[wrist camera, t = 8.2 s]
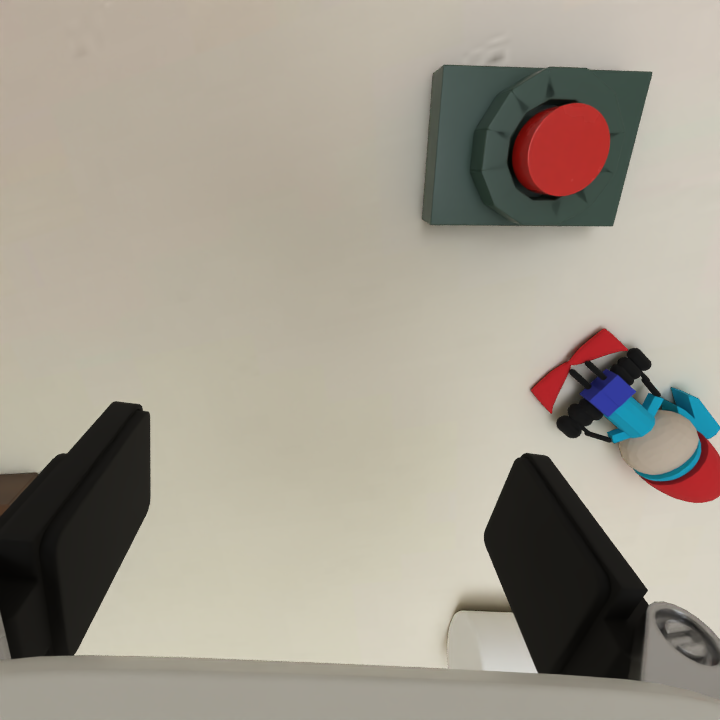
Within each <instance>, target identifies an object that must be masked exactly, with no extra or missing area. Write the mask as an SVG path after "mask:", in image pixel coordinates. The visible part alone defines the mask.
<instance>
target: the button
mask: <svg viewBox="0 0 720 720" xmlns="http://www.w3.org/2000/svg"><path fill="white" fill-rule="evenodd" d="M609 148H610V132H609V128H608V125H607V122H606V120H605V118H604V117H603V115H602V114H601V113H600V112H599V111H598V110H597V109H595V108H594V107H592V106H590V105H587V104H584V103H571V104H566V105H561V106H557V107H553V108H548V109H545V110H543V111H541V112H539V113H537V114H536V115H534V116H533V117H532V118H530V119H529V120H528V121H527V122H526V123H525V125H524V126H523V127H522V129H521V130H520V132H519V134H518V136H517V138H516V140H515V143H514V147H513V152H512V165H513V170H514V173H515V175H516V178H517V179H518V181H519V182H520V183H521V184H522V185H523V186H524V187H525V188H526V189H528V190H530V191H532V192H535V193H540V194H546V195H552V196H567V195H571V194H574V193H576V192H579V191H581V190H582V189H584V188H585V187H586V186H588V185H589V184H590V183H591V182H592V181H593V180H594V179H595V178H596V177H597V176H598V174H599V173H600V171H601V170H602V168H603V166H604V164H605V162H606V159H607V156H608V153H609Z"/></svg>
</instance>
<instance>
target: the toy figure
mask: <svg viewBox="0 0 720 720" xmlns="http://www.w3.org/2000/svg"><path fill="white" fill-rule="evenodd" d="M619 351H628V349H627V348H626V347H625V346H624V345H623V344H622V343H621V342H620V341H619V340H618V339H617V338H616V337H615V336H614V335H612V334H611V333H610V332H609V331H607V330H606V329H602V330H601V331H599V332H598V333H597V334H595V335H594V336H593V337H592V338H590V339H589V340H588V341H587V342H586V343H585V344H583V345H582V346H581V347H580V348H579V349H578V350H577V351H576V352H575V354H574V355H573V356H572V357H571V359H570V360H569V361H567V362H565V363H563V364H561V365H560V366H558V367H556V368H555V369H553V370H552V371H551V372H549V373H548V374H547V375H546V376H545V377H544V378H543V379H541V380H540V381H539V382H538V383H537V384H536V385H535V386H534V387H533V388H532V389H531V392H532V393H533V394H534V395H535V397H536V398H537V399H538V400H539V401H540V402H541V404H542V405H543V406H544V407H545V408H546V409H547V410H548V411H549V412H550V413H551V414H552V409H553V405H554V403H555V400H556V398H557V396H558V394H559V392H560V389H561V387H562V385H563V383H564V381H565V379H566V377H567V375H568V373H570V375H571V376H572V377H574V378H575V379H576V380H577V381H578V382H579V383H580V384H582V385H583V386H584V387H585V389H584V390H583V391H582V392H581V393H580V395H581V396H582V397H583V399H581V400H580V401H579V403H578V404H572V405H571V406H570V407H569V408H568V415H569V416H566V415H564V416H561V417H559V418H558V419H557V422H556V424H557V427H558V429H559V430H560V431H562V432H563V433H564V434H565V435H566V436H567V437H569V438H577V437H578V436H580V434H581V432H582V430H583V431H584V433H585V435H586V436H590V437H593V438H596V439H600V440H603V441H606V442H611V441H612V442H613V443H617V442H619V449H620V452H621V455H622V457H623V459H624V460H625V462H626V463H627V464H628V465H629V466H630V467H632V468H633V469H634V471H635V472H636V473H637V474H639V476H640V477H641V478H642V479H643V480H645V481H646V482H647V483H648V484H650V485H651V486H653V487H654V488H656V489H657V490H659V491H661V492H663V493H665V494H667V495H669V496H671V497H673V498H676V499H679V500H683V501H687V502H693V503H703V502H708V501H712V500H714V499H716V498H717V497H719V496H720V456H719V454H718V452H717V451H716V449H715V448H714V447H713V446H712V444H711V443H710V442H709V441H708V440H707V439H710V438H711V437H713V436H714V435H716V434H717V432H718V431H719V430H720V426H719V425H718V423H717V422H716V421H715V420H714V418H713V417H712V416H711V414H710V413H709V412H708V410H707V409H706V408H705V406H704V405H703V404H702V402H701V401H700V400H699V399H698V398H696V397H694V396H692V395H690V394H688V393H686V392H684V391H681V390H679V389H675V388H672V387H671V390H672V393H673V396H674V400H675V403H676V405H675V404H673V403H671V402H669V401H667V400H665V399H663V398H661V397H660V396H661V394H660V393H659V391H658V390H657V389H656V388H655V387H654V385H653V384H652V383H651V382H650V379H649V378H648V377H647V376H646V375H645V374H644V373H643V372H642V371H646V370H648V369H650V367H651V361H650V360H649V359H648V358H647V357H646V356H645V355H644V354H643V353H642V352H641V350H640V349H638V348H632V349H630V350H629V351H628V352H627V357H628V358H627V357H622V358H620V359H619V360H618V362H617V364H615V365H613V366H612V367H611V368H610V371H609V370H607V369H605V370H604V371H603V372H601V371H600V370H599V369H598V368H597V367H596V366H595V365H594V364H593V363H592V362H590V361H591V360H593V359H596V358H599V357H602V356H605V355H608V354H612V353H615V352H619ZM582 363H585V365H586V366H587V367H588V368H589V369H590V370H591V371H592V372H593V373H595V374H596V375H597V376H598V377H597V378H596V379H594V380H593V381H592V382H591V383H589V382H587V381H586V380H585V379H584V378H583V377H582V376H581V375H580V374H578V373H577V372H576V371H575V370H573V369H571V370H570V368H571V365H578V364H582ZM641 370H642V371H641ZM640 376H641V377H642V379H641V380H642V382H643V383H644V385H645V386H646V387H647V388H648V389H649V391H650V392H651V393H652V394H651V393H648V395H647V397H646V399H645V401H644V402H643V404H642V405H641V404H640V403H638V402H637V401H636V400H635V399H634V398H633V397H632V395H633V394H634V393H635V392H636V391H635V390H634V389H633V388H632V387H630V385H632V384H633V383H634V379H637V378H639V377H640ZM661 404H662V410H658V409H659V407H660V406H661ZM603 415H604V416H605V417H606V418H607V419H608V420H609V421H611V422H612V423H613V424H614V425H615V426H616V427H617V429H615V430H612V431H609V432H607V434H608V437H606V436H602V435H599V434H596V433H593V432H590V431H589V430H587V429H586V428H585V427H584V426H588V425H590V424H591V423H592V421H593V420H599V419H601V418H602V417H603Z"/></svg>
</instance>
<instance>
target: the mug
mask: <svg viewBox="0 0 720 720" xmlns="http://www.w3.org/2000/svg"><path fill="white" fill-rule="evenodd" d="M447 665H448V669H463V670H483V671H502V672H521V673H538V672H537V670H536V668H535V666H534V663H533V661H532V658H531V656H530V653H529V651H528V648H527V646H526V644H525V641H524V639H523V636H522V634H521V631H520V629H519V626H518V624H517V622H516V619H515V617H514V614H513V613H512V612H486V611H459V612H457V613H456V614H455V615H454V616H453V618H452V620H451V623H450V627H449V632H448V640H447Z"/></svg>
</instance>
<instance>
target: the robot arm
mask: <svg viewBox="0 0 720 720" xmlns="http://www.w3.org/2000/svg"><path fill="white" fill-rule="evenodd" d="M149 505H150V414H149V412H147V411H143V408H142V406H141V405H140V404H132V403H124V402H117V401H116V402H113V403H112V404H111V405H110V406H109V407H108V408H107V409H106V410H105V411H104V412H103V414H102V415H101V416H100V417H99V418H98V419H97V420H96V422H95V423H94V424H93V425H92V426H91V427H90V428H89V429H88V431H87V432H86V433H85V434H84V435H83V436H82V437H81V439H80V440H79V441H78V442H77V443H76V444H75V445H74V446H73V448H72V449H71V450H70V451H69V452H68V453H67V454H64V453H62V454H59V455H57V456H56V457H55V458H54V459H52V460H51V462H50V463H49V464H48V465H47V466H46V467H45V468H44V469H43V470H42V471H41V472H40V474H39V475H38V476H37V477H36V478H35V479H34V480H33V481H32V482H31V483H30V484H29V486H28V487H27V488H26V489H25V490H24V491H23V492H22V493H21V494H20V495H19V497H18V498H17V499H16V500H15V501H14V502H13V503H12V504H11V505H10V506H9V507H8V509H7V510H6V511H5V512H4V513H3V514H2V515H1V516H0V720H720V639H719V638H718V637H717V636H716V634H715V633H714V632H713V631H712V630H711V629H710V628H709V627H708V626H707V625H706V624H704V623H703V622H702V621H701V620H700V619H699V618H697V617H696V616H694V615H693V614H691V613H690V612H688V611H687V610H685V609H682V608H680V607H678V606H676V605H674V604H670V603H667V602H654V603H652V604H650V605H648V603H647V602H646V601H645V599H644V598H643V597H644V595H645V594H646V592H647V591H648V590H647V588H646V587H645V586H644V584H643V583H642V582H641V580H640V579H639V578H638V576H637V575H636V573H635V572H634V571H633V569H632V568H631V567H630V565H629V564H628V563H627V561H626V560H625V559H624V557H623V556H622V555H621V553H620V552H619V551H618V549H617V548H616V547H615V545H614V544H613V543H612V541H611V540H610V539H609V537H608V536H607V535H606V533H605V532H604V531H603V529H602V528H601V526H600V525H599V524H598V522H597V521H596V520H595V518H594V517H593V516H592V514H591V513H590V512H589V510H588V509H587V508H586V506H585V505H584V504H583V502H582V501H581V500H580V498H579V497H578V496H577V494H576V493H575V492H574V490H573V489H572V488H571V486H570V485H569V483H568V482H567V481H566V479H565V478H564V477H563V475H562V474H561V473H560V471H559V470H558V469H557V467H556V466H555V465H554V463H553V462H552V461H551V459H550V458H549V457H548V456H545V455H538V454H530V453H525V454H523V455H522V456H521V458H517V459H516V460H515V461H514V463H513V466H512V468H511V470H510V473H509V475H508V477H507V480H506V482H505V484H504V487H503V489H502V491H501V494H500V496H499V498H498V501H497V503H496V506H495V508H494V510H493V513H492V515H491V517H490V520H489V522H488V524H487V527H486V529H485V532H484V542H485V546H486V548H487V551H488V553H489V556H490V558H491V561H492V563H493V565H494V568H495V570H496V573H497V575H498V578H499V580H500V583H501V585H502V587H503V590H504V592H505V595H506V597H507V600H508V602H509V604H510V607H511V609H512V612H513V614H514V617H515V619H516V622H517V624H518V626H519V629H520V631H521V634H522V636H523V639H524V641H525V644H526V646H527V648H528V651H529V653H530V656H531V658H532V661H533V663H534V666H535V668H536V670H537V672H538V673H521V672H502V671H483V670H463V669H443V668H422V667H400V666H379V665H356V664H334V663H312V662H287V661H262V660H237V659H212V658H187V657H147V656H102V655H78V656H73V655H74V654H75V653H76V651H77V650H78V648H79V646H80V644H81V642H82V640H83V638H84V636H85V634H86V632H87V630H88V628H89V626H90V624H91V622H92V620H93V618H94V616H95V614H96V612H97V610H98V608H99V607H100V605H101V603H102V601H103V599H104V597H105V595H106V593H107V591H108V589H109V587H110V585H111V583H112V581H113V579H114V577H115V575H116V573H117V571H118V569H119V567H120V565H121V563H122V561H123V559H124V557H125V555H126V553H127V551H128V550H129V548H130V546H131V544H132V542H133V540H134V538H135V536H136V534H137V532H138V530H139V528H140V526H141V524H142V522H143V520H144V518H145V516H146V514H147V512H148V509H149Z"/></svg>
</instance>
